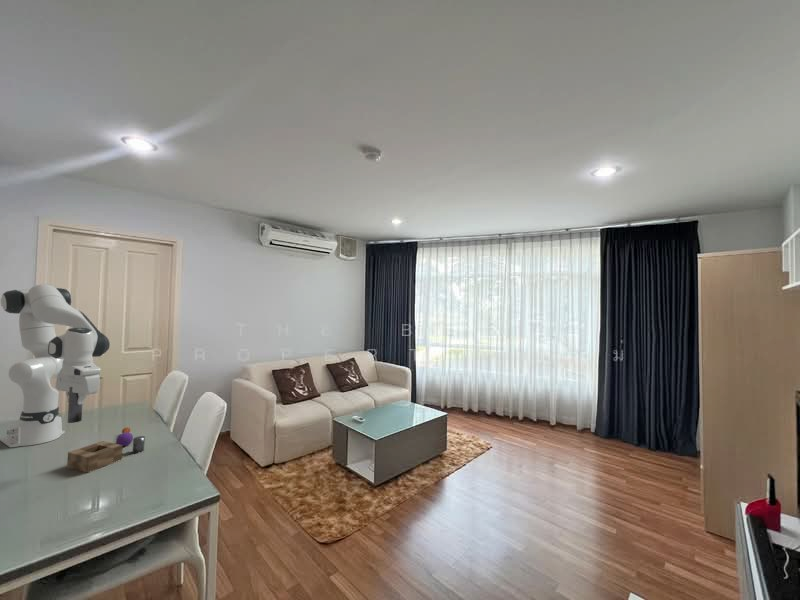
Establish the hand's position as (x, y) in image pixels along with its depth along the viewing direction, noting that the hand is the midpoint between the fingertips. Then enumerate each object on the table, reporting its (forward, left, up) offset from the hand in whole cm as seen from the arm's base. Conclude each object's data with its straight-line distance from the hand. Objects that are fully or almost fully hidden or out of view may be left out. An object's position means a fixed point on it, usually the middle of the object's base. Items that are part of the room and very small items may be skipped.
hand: (75, 403), depth 130 cm
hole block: (+4, +6, -26) cm, 27 cm away
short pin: (+8, +20, -26) cm, 33 cm away
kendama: (-10, +26, -26) cm, 38 cm away
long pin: (0, 0, -7) cm, 7 cm away
